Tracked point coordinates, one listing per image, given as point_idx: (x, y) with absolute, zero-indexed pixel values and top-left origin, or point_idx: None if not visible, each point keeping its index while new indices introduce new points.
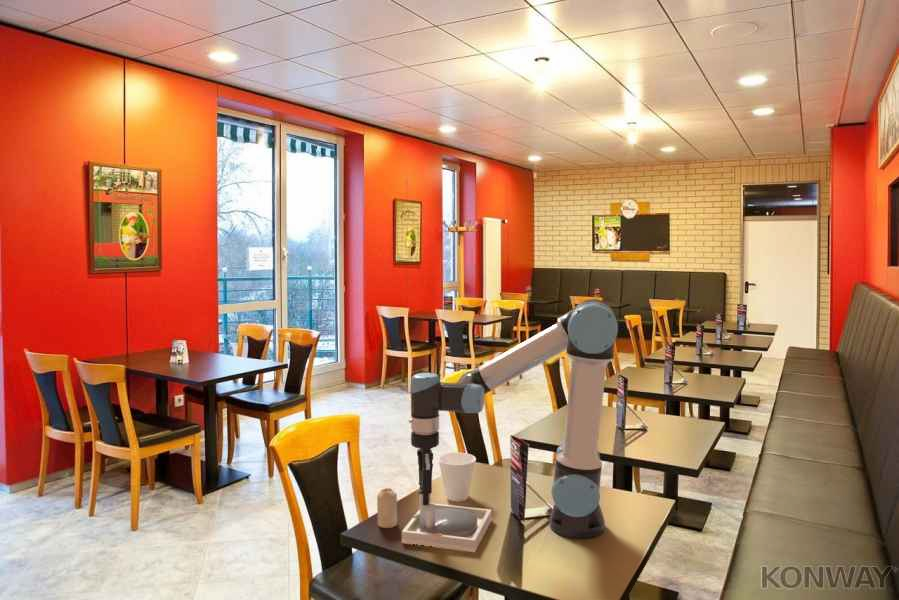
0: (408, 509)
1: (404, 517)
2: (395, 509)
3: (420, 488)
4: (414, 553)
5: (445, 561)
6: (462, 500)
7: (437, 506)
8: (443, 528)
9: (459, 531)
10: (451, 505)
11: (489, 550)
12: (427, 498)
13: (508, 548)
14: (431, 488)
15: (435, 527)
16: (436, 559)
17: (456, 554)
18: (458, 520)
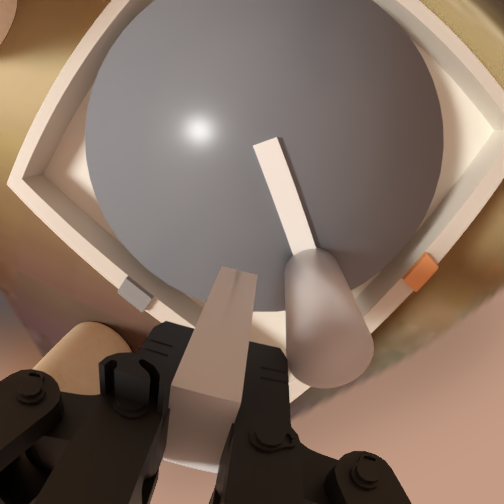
0: (6, 232)
1: (58, 274)
2: (89, 379)
3: (155, 479)
4: (390, 355)
5: (498, 271)
6: (16, 7)
7: (49, 128)
8: (366, 210)
9: (441, 143)
10: (75, 52)
11: (501, 72)
12: (287, 406)
13: (500, 10)
14: (165, 385)
15: (332, 250)
16: (472, 296)
17: (483, 208)
18: (297, 71)
